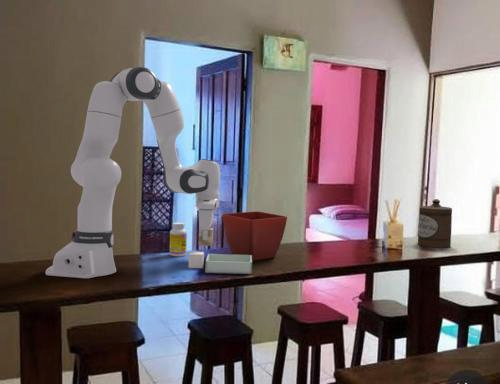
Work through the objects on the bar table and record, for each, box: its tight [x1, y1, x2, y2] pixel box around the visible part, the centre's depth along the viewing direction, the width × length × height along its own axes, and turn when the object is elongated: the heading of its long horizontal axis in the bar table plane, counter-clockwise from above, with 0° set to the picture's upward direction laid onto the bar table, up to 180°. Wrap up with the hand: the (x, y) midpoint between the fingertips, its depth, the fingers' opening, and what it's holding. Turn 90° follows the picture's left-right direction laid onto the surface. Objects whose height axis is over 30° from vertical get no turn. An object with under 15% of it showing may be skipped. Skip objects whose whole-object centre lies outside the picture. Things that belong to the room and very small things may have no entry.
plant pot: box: [222, 210, 288, 262], centre depth 210 cm, size 19×19×17 cm
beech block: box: [198, 227, 214, 247], centre depth 201 cm, size 5×5×6 cm
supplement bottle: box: [169, 222, 188, 257], centre depth 209 cm, size 7×7×13 cm
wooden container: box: [417, 198, 453, 249], centre depth 251 cm, size 15×15×22 cm
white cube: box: [188, 251, 205, 269], centre depth 191 cm, size 5×5×5 cm
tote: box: [204, 253, 253, 275], centre depth 188 cm, size 16×13×4 cm
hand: (205, 238), depth 201 cm, fingers closed on beech block, 5 cm apart
